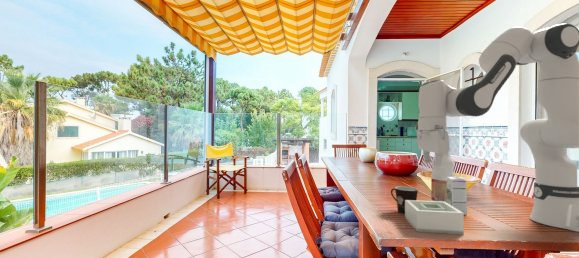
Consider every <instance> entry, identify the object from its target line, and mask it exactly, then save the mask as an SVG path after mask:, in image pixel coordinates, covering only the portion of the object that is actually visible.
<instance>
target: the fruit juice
mask: <svg viewBox="0 0 579 258" xmlns="http://www.w3.org/2000/svg"><path fill="white" fill-rule="evenodd" d="M434 161H435V156H434V157H433V158H432V160H431V166H432V171H431V175H430V177H431V181H430V183H431V186H430V188H431V194H430V196H431V197H430V198H431V199H430V201H442V202H446V203H447V177H456V175H455V171H454V169H455V166H456V163H455V160H454V159H453V157H452V156H451V153H450V152H449V153H447V154H443V158H442V161H441V166H435V165H434Z"/></svg>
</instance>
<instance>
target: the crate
mask: <svg viewBox="0 0 579 258" xmlns="http://www.w3.org/2000/svg"><path fill="white" fill-rule="evenodd" d="M419 203H428V204H439V205H440V206H442V207H443V208H445V211H430V210H419ZM464 217H465V215H464V213H463V212H461V211H459V210H458V209H456V208H455V207H453V206H451V205H450V204H448V203H446V202H442V201H431V200H419V199H417V200H405V215H404V219H405V220H406V221H407V222H408V223H409V225H411V227H412V228H413V229H414V230H415V231H416V232H417V233H431V234H433V233H434V234H447V235H448V234H449V235H465V234H464V233H465V231H464V228H465V225H464V221H465V219H464Z"/></svg>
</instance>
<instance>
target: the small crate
mask: <svg viewBox="0 0 579 258" xmlns="http://www.w3.org/2000/svg"><path fill="white" fill-rule="evenodd" d="M419 210H430V211H445V208H443V207H442V206H440V205H439V204H428V203H419Z"/></svg>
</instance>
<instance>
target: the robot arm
mask: <svg viewBox="0 0 579 258" xmlns="http://www.w3.org/2000/svg"><path fill="white" fill-rule="evenodd" d="M578 47H579V29H578V27H576V26H575V25H573V24H571V23H559V24H554V25H552V26H551V27H546V28H541V29H539V30H536V31H534V32H531V31H530V29H528V28H526V27H523V26H513V27H510V28H509V29H506V30H505V31H504V32H502V33H501V34H500V35H499V36H497V37H496V38H495V39H494V40H493V41H492V42H491V43H490V44H489V45H488V46H487V47H485V49H484V50H483V51H482V53H481V54H480V56H479V58H478V64H479V67H480V69H482V71H483V72H484V75H483V76H482V77H481V78H480V80H479V81H477V82H476V83H474V84H473V85H470V86H466V87H462V88H458V89H457V88H455V87H452V86H450V85H449V84H447V83H446V82H445V81H444V79H435V80H431V81H426V82H424V83H422V84H421V85H420V87H419V89H418V90H419V91H418V99H417V100H418V102H417V103H418V104H417V105H418V110H419V113H418V117H417V118H418V119H417V120H418V121H417V123H416V125H415V131H416V142H417V143H416V144H417V147H418V150H420V151H422V155H423V158H424V159H423V161H424V163H425V164H431V163H432V160H431V157H430V153H434V157H435V161H434V165H435V166H441V161H442V158H443V154H447V153H450V136H449V133H448V131H447V117H450V118H451V117H454V118H457V117H481V116H483V115H485V114H486V113H488V112H489V111H490V109H491V107H492V105H493V103H494V101H495V98H496V96H497V94H498V93H499V91H500V90H501V89H502V87H504V85H505V84H506V82H507V81H508V79H509V78H510V77H511V75H512V74H513V72H514V71H515V69H516V66H526V65H529V64H533V63H538V65H539V71H538V80H537V98H536V100H537V101H536V102H537V103H538V104H539V105H540V106H542V107H543V109H544V110H545V112H546V115H547V118H537V119H533V120H530V121H526V122H525V123H524V124H522V126H521V128H520V131H519V133H520V134H519V135H520V137H521V139H522V140H523V142H525V143H526V144H527V145H528V147H529V150H530V152H531V154H532V157H533V160H534V167H535V168H534V169H535V171H534V173H535V177H534V178H535V181H534V182H533V194H534V195H533V196H534V200H533V207H532V210H531V213H530V216H529V219H530V220H531V221H534V222H536V223H539V224H542V225H546V226H549V227H554V228H560V229H564V230H569V231H571V232H572V231H573V232H577V233H578V232H579V185H578V165H577V164H576V163H575V161H573V160H572V159H571V158H570V156H569V155H568V154H567V152H566V149H579V57H578V55H577V54H576V53H577V50H578Z"/></svg>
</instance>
